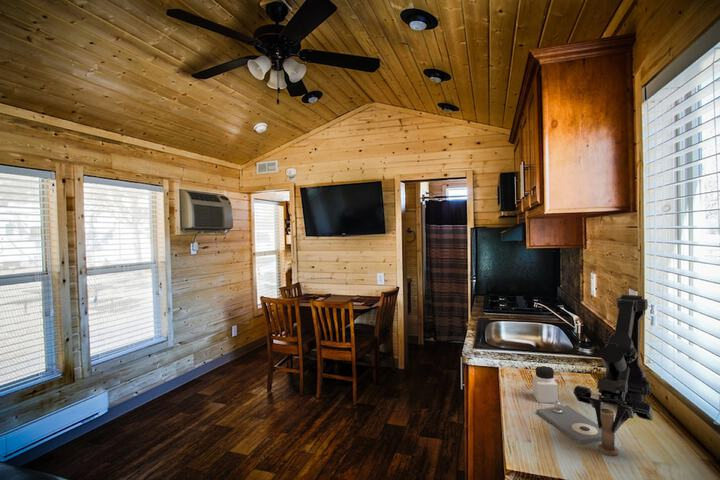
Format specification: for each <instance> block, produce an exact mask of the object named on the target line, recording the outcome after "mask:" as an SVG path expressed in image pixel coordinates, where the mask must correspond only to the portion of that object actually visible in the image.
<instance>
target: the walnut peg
mask: <svg viewBox="0 0 720 480" xmlns="http://www.w3.org/2000/svg"><path fill="white" fill-rule="evenodd" d="M614 416H615V413H614V411H613V410H611V409H610V408H604V409H601V429H602V441H601V443H600V444H598V451H599V452H600V453H601V454H603V455H606V456H610V457H616V456H618V455H619V449H618V448H617V447H616V446H615V439H614V435H615V433H613V432H612V428H613V423H614V420H615V417H614Z"/></svg>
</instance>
